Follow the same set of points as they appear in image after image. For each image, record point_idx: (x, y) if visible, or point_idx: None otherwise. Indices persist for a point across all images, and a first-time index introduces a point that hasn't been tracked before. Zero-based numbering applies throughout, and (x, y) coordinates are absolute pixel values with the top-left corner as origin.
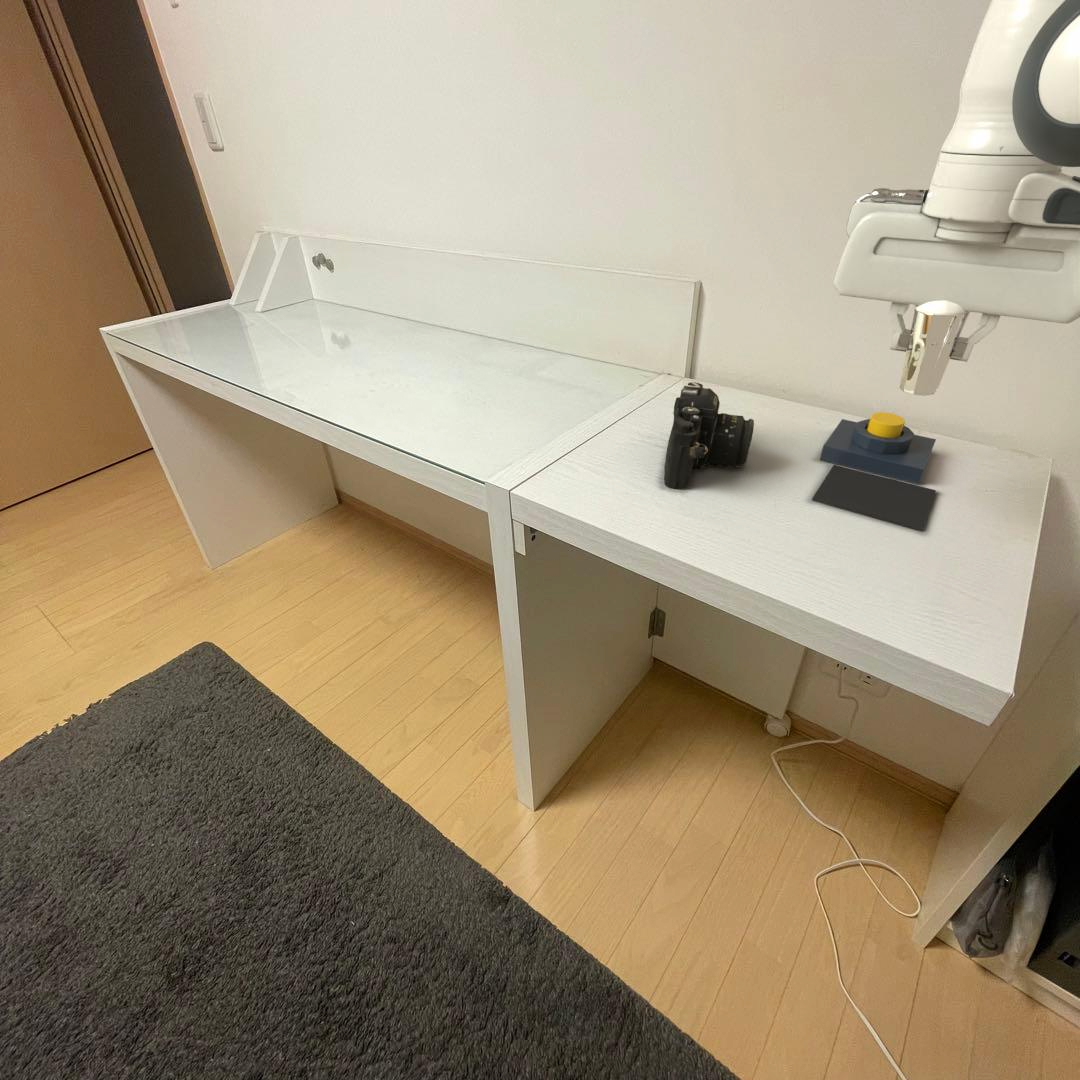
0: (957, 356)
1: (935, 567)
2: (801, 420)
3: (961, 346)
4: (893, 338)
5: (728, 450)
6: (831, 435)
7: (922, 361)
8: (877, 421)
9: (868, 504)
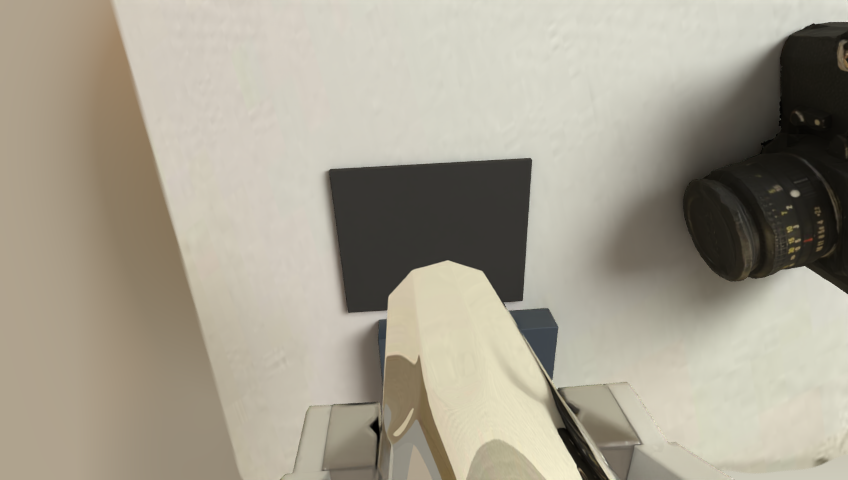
0: (351, 410)
1: (273, 56)
2: None
3: (346, 449)
4: (650, 417)
5: (751, 168)
6: (552, 369)
7: (476, 327)
8: None
9: (434, 197)
